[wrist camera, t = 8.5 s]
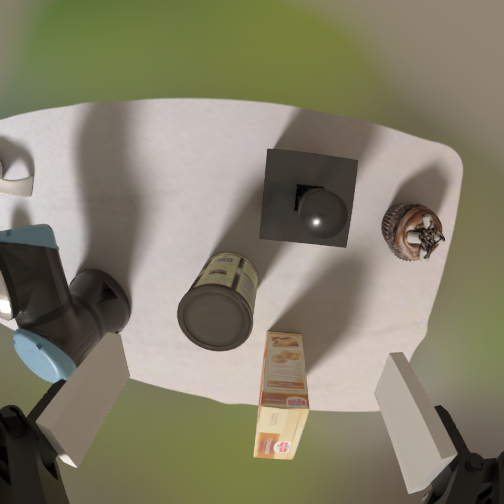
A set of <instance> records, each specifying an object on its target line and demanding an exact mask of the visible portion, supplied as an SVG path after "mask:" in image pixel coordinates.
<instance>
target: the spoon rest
mask: <svg viewBox="0 0 504 504" xmlns="http://www.w3.org/2000/svg"><path fill="white" fill-rule="evenodd" d="M2 176H3V167H2V164H1V161H0V193H2V194H7V195H13V196H19V197H30V196H31V193H32V186H33V176H31V177H27V178H23V179H19V180H7V179H3V178H2Z"/></svg>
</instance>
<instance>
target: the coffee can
mask: <svg viewBox="0 0 504 504" xmlns="http://www.w3.org/2000/svg"><path fill="white" fill-rule="evenodd" d="M257 287H258V275H257V272H256V270H255V268H254V266H253V265H252V264H251V262H250V261H249V260H247V259H246V258H245V257H243V256H241V255H238V254H235V253H221V254H218V255H215V256H213V257H212V258H210V259H209V260H208V261H207V262H206V264H205V265H204V267H203V269H202V270H201V272H200V274H199V275H198V277H197V278H196V280H195V281H194V283H193V284H192V286H191V287H190V289H189V291H188V292H187V293H186V294H185V295H184V296H183V298H182V299H181V301H180V303H179V306H178V310H177V318H178V323H179V326H180V328H181V330H182V331H183V333H184V334H185V336H187V338H188V339H189V340H190V341H192V342H193V343H194V344H196V345H198V346H200V347H202V348H204V349H207V350H211V351H228V350H232V349H235V348H237V347H239V346H240V345H242V344H243V343H244V342H245V341H246V340H247V339H248V337H249V336H250V334H251V331H252V327H253V313H254V306H255V299H256V291H257Z"/></svg>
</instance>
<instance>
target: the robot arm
mask: <svg viewBox="0 0 504 504" xmlns="http://www.w3.org/2000/svg"><path fill="white" fill-rule="evenodd" d="M58 250H59V247H58V246H57V244H56V240H55V236H54V232H53V230H52V228H51V227H50V226H49V225H47V224H37V225H31V226H25V227H20V228H15V229H10V230H5V231H0V317H1V318H3V319H5V320H8V321H9V320H12V319H13V318H15V320H16V322H17V325H18V327H19V329H17V330H16V331H15V333H14V335H13V343H14V346H15V349H16V351H17V353H18V355H19V356H20V357H21V359H22V360H23V362H24V363H25V364H26V365H27V366H28V367H29V368H30V369H31V370H32V371H33V372H35V373H36V374H37V375H38V376H40V377H41V378H43V379H45V380H46V381H49V382H52V383H54V384H53V385H52V386H51V387H50V388H49V390H48V391H47V393H46V394H45V395H44V396H43V398H42V399H41V400H40V401H39V402H38V403H37V405H36V406H35V407H34V408H33V410H32V411H31V412H30V414H29V415H28V416H27V417H25V415H24V414H23V412H22V411H21V409H20V408H19V407H17V406H15V405H8V406H5V407H3V408H2V409H0V504H70V503H69V501H68V498H67V495H66V492H65V489H64V485H63V482H62V479H61V475H60V471H59V467H58V464H57V462H56V459H55V458H56V457H57V455H59V457H60V458H61V459H62V460H63V462H65V463H67V464H70V465H72V466H74V467H76V468H78V467H79V465H80V463H81V461H82V459H83V457H84V455H85V453H86V452H87V449H88V448H89V446H90V444H91V442H92V441H93V439H94V437H95V435H96V434H97V432H98V430H99V428H100V426H101V425H102V422H103V421H104V419H105V418H106V415H107V414H108V412H109V411H110V409H111V407H112V405H113V404H114V402H115V400H116V398H117V397H118V395H119V393H120V392H121V389H122V388H123V386H124V384H125V383H126V381H127V380H128V378H129V376H130V374H129V370H128V366H127V362H126V358H125V353H124V349H123V344H122V340H121V335H120V334H119V333H120V332H121V331H122V330H123V328H124V327H125V326H126V325H127V323H128V320H129V316H130V309H129V303H128V300H127V298H126V295H125V293H124V291H123V290H122V288H121V287H120V286H119V284H118V283H117V282H116V281H115V280H114V279H113V278H112V277H110V276H109V275H108V274H106V273H104V272H102V271H99V270H95V269H89V270H85V271H83V272H81V273H80V274H78V275H77V276H76V277H74V279H73V280H72V281H71V283H70V285H69V287H68V284H67V280H66V277H65V273H64V270H63V266H62V263H61V259H60V255H59V251H58ZM70 376H71V377H70ZM69 377H70V378H69ZM68 378H69V379H68ZM67 379H68V380H67ZM374 394H375V397H376V400H377V402H378V405H379V408H380V410H381V413H382V415H383V418H384V421H385V424H386V426H387V429H388V432H389V435H390V438H391V441H392V444H393V447H394V450H395V453H396V456H397V459H398V462H399V465H400V468H401V471H402V474H403V477H404V481H405V484H406V487H407V491H408V493H409V494H410V493H414V492H417V491H420V490H424V488H426V487H427V486H428V485H429V484H430V483H431V484H432V487H433V488H432V489H431V490H430V491H429V492H428V493H426V494H425V495H424V496H423V498H422V499H421V500H424V499H425V498H426V497H427V498H426V500H425V502H424V504H504V451H503V452H502V453H501V454H500V455H499V456H498V457H497V458H491V459H483V458H482V457H481V456H480V455H478V454H477V453H470V451H469V450H468V448H467V446H466V444H465V442H464V440H463V438H462V436H461V435H460V433H459V431H458V429H457V428H456V425H455V424H454V422H453V420H452V418H451V416H450V414H449V413H448V411H447V410H445V409H444V408H443V407H442V406H441V405H439V406H435V407H434V406H433V404H432V402H431V401H430V399H429V397H428V395H427V394H426V392H425V390H424V388H423V386H422V385H421V383H420V381H419V379H418V378H417V376H416V374H415V372H414V371H413V369H412V367H411V366H410V364H409V362H408V361H407V359H406V357H405V356H404V354H403V352H398V353H389V355H388V358H387V361H386V364H385V366H384V369H383V372H382V374H381V377H380V379H379V382H378V384H377V387H376V389H375V392H374Z"/></svg>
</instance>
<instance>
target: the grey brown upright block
mask: <svg viewBox="0 0 504 504" xmlns="http://www.w3.org/2000/svg"><path fill="white" fill-rule="evenodd" d="M357 166H358V160H353V159H347V158H341V157H334V156H327V155H320V154H313V153H305V152H296V151H287V150H277V149H267V158H266V170H265V181H264V193H263V204H262V215H261V227H260V238H259V239H268V240H278V241H288V242H298V243H307V244H317V245H326V246H335V247H344V248H346V246H347V240H348V234H349V228H350V221H351V214H352V207H353V200H354V192H355V184H356V175H357ZM297 184H303V185H312V186H320V187H323V189H327V190H329V191H331V192H333V193H334V194H336V195H338V196H339V197H340V198H341V199H342V200H343V201H344V203H345V205H346V207H347V211H348V219H347V222H346V225H345V227H344V228H343V230H342V231H341V232H340V233H339V234H337V235H336V236H334V237H332V238H328V239H320V238H316V237H314V236H312V235H311V234H309V233H308V232H307V231H306V230H305V228H304V226H303V224H302V222H301V220H300V218H299V215H298V210H294V207H295V198H296V189H297Z"/></svg>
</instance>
